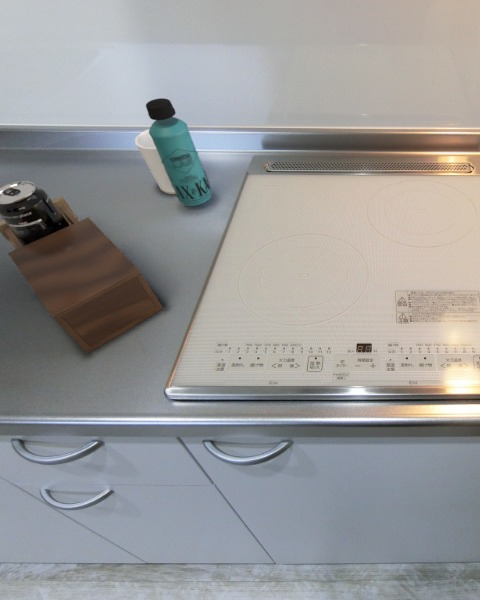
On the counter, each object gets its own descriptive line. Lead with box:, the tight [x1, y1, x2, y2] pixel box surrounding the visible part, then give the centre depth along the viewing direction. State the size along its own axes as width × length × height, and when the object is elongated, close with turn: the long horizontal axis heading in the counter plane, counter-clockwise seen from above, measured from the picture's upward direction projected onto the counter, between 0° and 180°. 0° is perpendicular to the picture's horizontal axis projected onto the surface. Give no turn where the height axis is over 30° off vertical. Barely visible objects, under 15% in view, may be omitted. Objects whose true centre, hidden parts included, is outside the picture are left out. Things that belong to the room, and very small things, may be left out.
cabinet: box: [7, 217, 164, 354], centre depth 66 cm, size 18×12×9 cm, turn 47°
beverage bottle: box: [145, 97, 212, 207], centre depth 79 cm, size 6×7×20 cm
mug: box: [134, 128, 177, 195], centre depth 87 cm, size 11×9×10 cm
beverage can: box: [0, 180, 70, 245], centre depth 70 cm, size 7×7×12 cm
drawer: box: [0, 195, 80, 250], centre depth 72 cm, size 21×10×7 cm, turn 47°
